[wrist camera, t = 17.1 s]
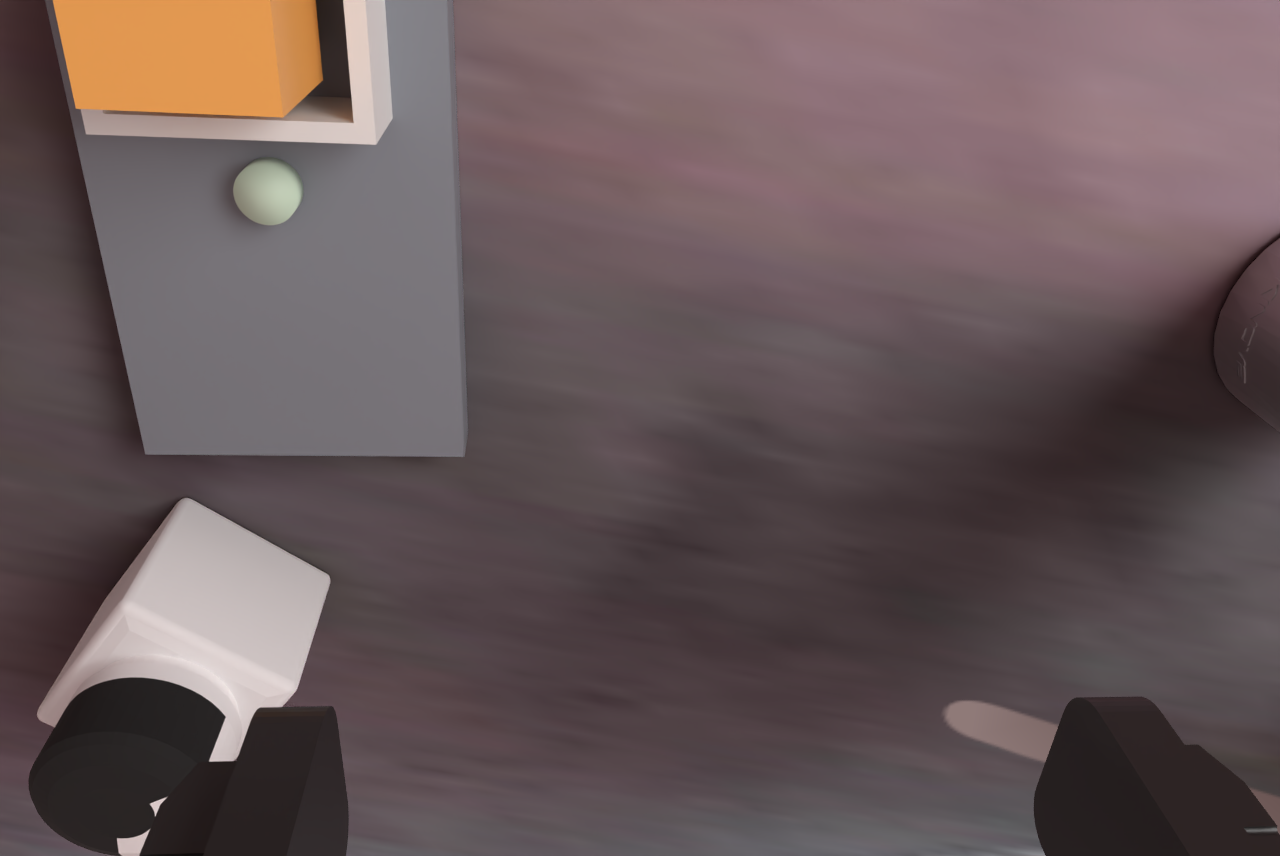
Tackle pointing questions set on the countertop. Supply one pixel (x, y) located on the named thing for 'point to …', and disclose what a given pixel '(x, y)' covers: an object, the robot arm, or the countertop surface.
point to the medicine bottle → (171, 675)
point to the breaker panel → (294, 252)
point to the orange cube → (191, 55)
